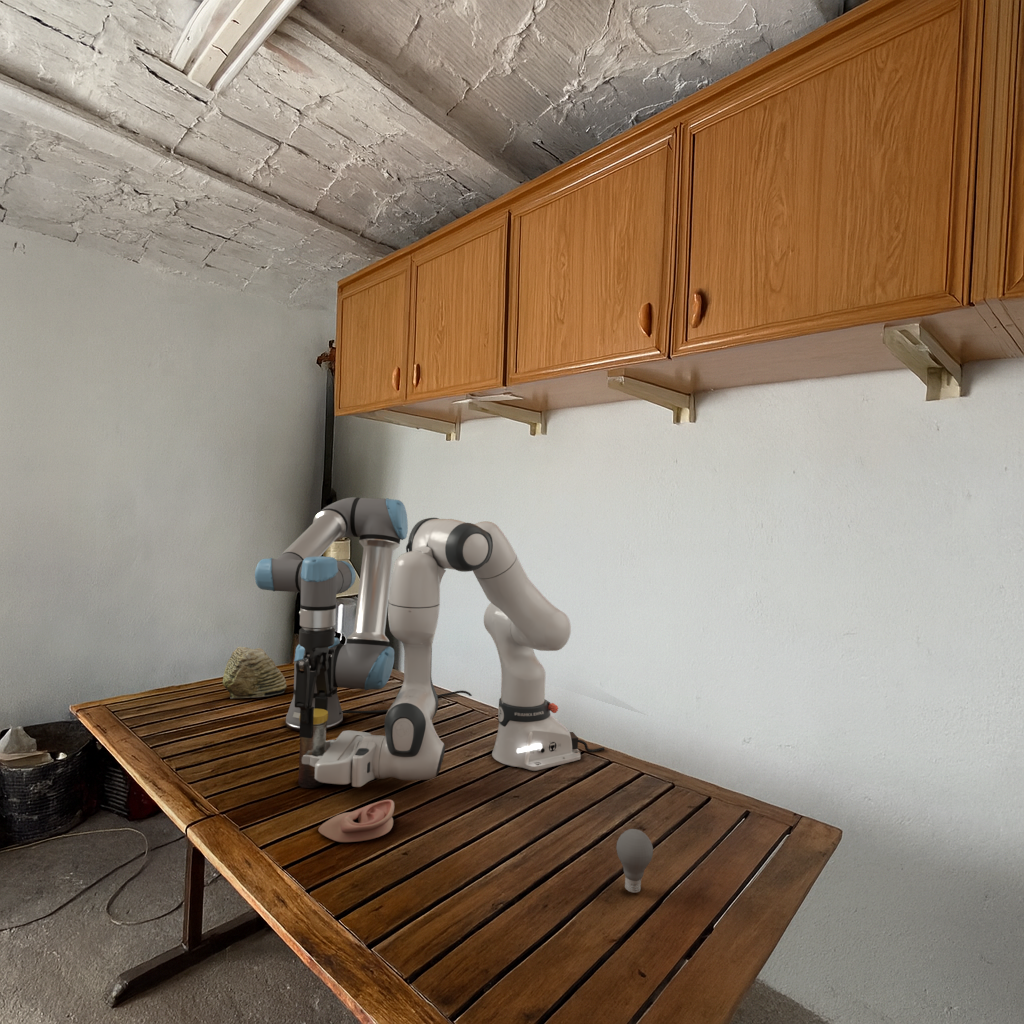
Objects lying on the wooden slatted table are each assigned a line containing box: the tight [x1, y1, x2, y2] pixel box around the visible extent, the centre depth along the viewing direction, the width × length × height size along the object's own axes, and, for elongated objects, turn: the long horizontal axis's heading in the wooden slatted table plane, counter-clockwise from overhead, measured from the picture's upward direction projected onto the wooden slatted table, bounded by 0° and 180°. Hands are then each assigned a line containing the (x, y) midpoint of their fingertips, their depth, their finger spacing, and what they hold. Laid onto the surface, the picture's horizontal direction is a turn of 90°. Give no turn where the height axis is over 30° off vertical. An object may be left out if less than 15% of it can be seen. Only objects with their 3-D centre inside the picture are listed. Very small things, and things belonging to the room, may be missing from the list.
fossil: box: [222, 646, 288, 699], centre depth 198 cm, size 9×18×15 cm, turn 132°
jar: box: [298, 722, 327, 789], centre depth 140 cm, size 5×5×15 cm
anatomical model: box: [317, 799, 395, 843], centre depth 122 cm, size 13×4×12 cm
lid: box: [299, 709, 328, 725], centre depth 140 cm, size 6×6×2 cm
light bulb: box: [615, 828, 654, 894], centre depth 106 cm, size 6×6×10 cm
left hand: (313, 731), depth 140 cm, fingers closed on lid, 6 cm apart
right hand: (308, 752), depth 140 cm, fingers closed on jar, 5 cm apart
